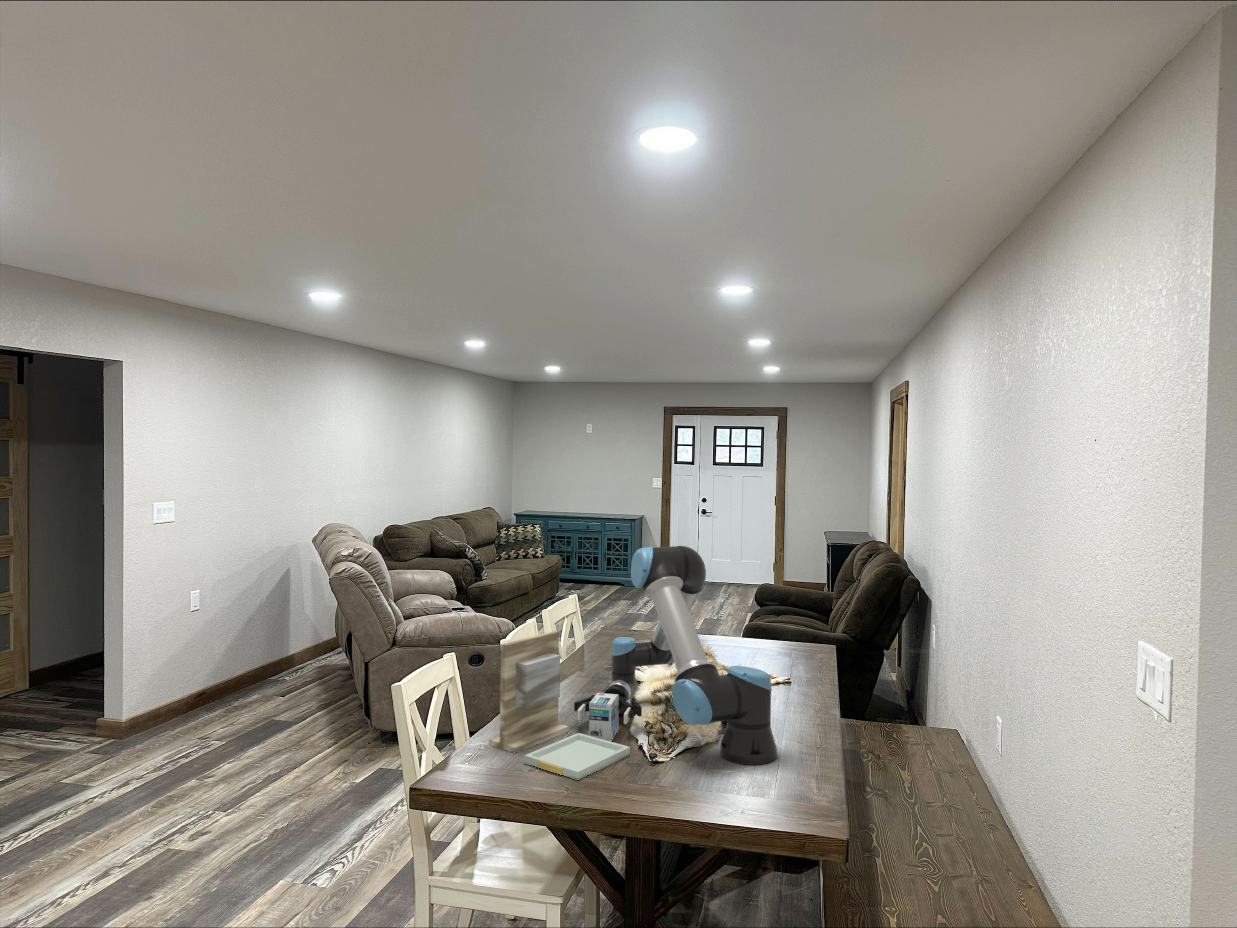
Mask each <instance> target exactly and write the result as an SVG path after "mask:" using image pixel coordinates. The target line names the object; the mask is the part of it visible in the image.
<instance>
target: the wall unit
mask: <svg viewBox="0 0 1237 928" xmlns="http://www.w3.org/2000/svg"><path fill="white" fill-rule="evenodd" d="M559 647H560V632H559V631H555V630H554V631H553V630H552V631H548V632H544V633H541V634H537V635H534V636H529V637H525V638H521V639H518V640H513V641H509V642H506V643H505V642H504V643H502V644H500V669H499V670H500V672H499V674H500V677H499V678H500V685H499V690H500V692H499V695H500V696H499V736H496V737H495V736H494V737H493V738H490V739H489V741H488V742H489V744H488V745H489V746H491V747H494V748H497V749H501V750H503V749H504V751H506V750H507V752H510V751H511V752H510V753H513V752H515V753H514V754H517V753H516V752H518V751H520V752H522V751H521V750H523V751H525V750H527V749H529V747H530V748H532V747H535V746H536V744H537V745H539V743H540V744H542V743H545V742H547V741H549V740H552V739H554V738H556V736H557V737H559V736H561V735H564V734H566V733H568V732H569V726H568V725H564V724H560V723H559V698H560V695H561V655H560V648H559ZM565 732H566V733H565ZM563 733H564V734H563ZM558 735H559V736H558ZM551 738H552V739H551ZM534 745H535V746H534ZM531 746H532V747H531ZM526 748H527V749H526ZM524 749H525V750H524ZM518 753H519V752H518Z"/></svg>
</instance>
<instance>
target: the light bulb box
mask: <svg viewBox="0 0 1237 928" xmlns="http://www.w3.org/2000/svg"><path fill="white" fill-rule="evenodd" d="M594 695H595V697H594V698H593V699H592V700H591V702H590V703H589V711H588V712H589V715H588V716H589V717H588V718H589V719H588V720H589V721H588V722H589V723H588V728H589V729H588V732H589V733H588V736H592V737H595V738H599V739H603V740H606V741H610V742H612V741H614V739H615V737H616V735H617V734H618V732H619V731H620V730H619V729H620V728H619V721H620V720H619V718H620V716H619V712H620V711H619V695H618V694H606V693H604V692H597V693H596V694H594ZM618 730H619V731H618ZM616 733H617V734H616Z"/></svg>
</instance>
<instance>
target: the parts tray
mask: <svg viewBox="0 0 1237 928" xmlns="http://www.w3.org/2000/svg"><path fill="white" fill-rule="evenodd" d="M630 756H631V746H628V745H625V744H621V743H617V742H614V741H613V742H612V741H611V742H610V741H606V740H603V739H599V738H595V737H592V736H589V734H588V735H587V734H584V733H580V732H577V733H575V734H572V735H570V736H568V737H566V738H563V739H560V740H559V741H556V742H553V743H550V744H549V745H545V746H544V747H541V748H539V749H536V750H534V751H532V752H530V753H527V754H524V762H523V764H524V763H525V764H524V765H526V764H528V765H527V766H530V765H532V766H531V767H533V766H535V767H534V768H536V767H538V768H537V769H539V768H541V769H540V770H542V769H544V770H543V771H545V770H548V771H550V772H549V773H551V772H554V773H553V774H555V773H557V774H556V775H558V774H560V775H559V776H561V775H564V776H567V777H570V778H573V779H575V780H574V781H577V780H579V781H581V780H582V779H581V778H583V777H585V778H586V776H587V775H589V776H590V774H591V775H593V774H595V773H597V772H599V771H601V770H603V769H605V768H607V767H609V766H611V765H613V764H615V763H617V762H618V761H619V762H620V761H621V760H623V759H625V758H627V757H630ZM548 771H547V772H548ZM596 771H597V772H596ZM594 772H595V773H594ZM592 773H593V774H592ZM564 776H563V777H564ZM567 777H566V778H567ZM587 777H588V776H587ZM570 778H569V779H570ZM573 779H572V780H573ZM580 779H581V780H580ZM583 779H584V778H583Z"/></svg>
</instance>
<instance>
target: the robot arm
mask: <svg viewBox="0 0 1237 928" xmlns="http://www.w3.org/2000/svg"><path fill="white" fill-rule="evenodd" d="M630 564H631V566H630V578H631V582H632V586H634V587H635V588H636V589H643V592H644V595H645V598H646V599H648V600H652V602H653V605H654V609H655V611H656V615H657V616H658V619H659V620H658V622H657V624H656V628H655V629H654V632H653V635H652V638H651V639H650V641H646V642H645V641H643V642H636V639H635V638H633V637H629V636H619V637H616V638H614V639H613V640H612V645H611V682H610V685H608V687H607V688H606V690H604V692H603V693H606V694H618V695H619V712H624V713H623V724H624V725H627V724H628V722H629V721H630V719H634V717H636V716H637V717H642V714H643V712H642V711H643V709H642V706H641V705H640V703H639V702H638V701H637V700H636V697H632V696H633V695H634V694H635V692H636V690H637V687H638V682H637V678H636V668H639V667H646V666H647V667H648V666H649V667H650V666H658V665H660V666H661V665H667V664H671V663H674V665H675V667H676V671H677V674H676V676H675V678H674V681H675V682H674V684H673V685H672V690H671V695H672V696H673V697H672V702H673V707H674V709H675V711H676V713H677V715H678V717H679V718H680V719H681V721H684V722H685V723H687V724H689V725H690V726H691V725H692V726H693V725H703V726H704V725H708V724H711V723H717V722H718V723H719V722H724V721H726V727H725V729H724V733H723V736H722V738H721V741H720V745H719V746H720V750H719V753H720V756H721V757H722V758H723V759H725V760H728V761H730V762H732V763H737V764H741V765H750V766H752V765H753V766H754V765H766V764H769V763H773V762H775V761H776V760H777V758H778V747H777V744H776V741H775V737H774V735H773V731H772V727H771V726H772V725H771V720H772V717H771V716H772V713H771V712H772V709H771V708H772V703H771V702H772V681H771V679H772V678H771V676H770V674H769V673H767V672H766V671H764V670H762V669H759V668H755V667H751V666H744V665H741V666H740V665H731V666H728V668H727V670H726V673H727V674H719V671H718V669H717V666H716V664H714V663H712V662H709V661H708V658H707V656H706V654H705V651H704V648H703V646H702V642H701V639H700V637H699V635H698V632H697V630H696V626H695V625H694V622H693V619H692V617H691V614H690V609H691V608H692V607H691V606H692V604H693V602H694V600H695V598H696V596H697V595H698V594H700V593H701V592H702V590H703V587H704V585H705V582H706V577H707V576H706V575H707V569H706V565H705V562H704V559H703V558H702V557H701V555H700V554H699V553H698V552H697V551H696V550H695V549H693V548H691V547H688V546H686V545H675V546H658V547H655V546H654V547H653V546H648V547H641V548H639V549H637V550H636V551H635V552H634V554H633V556H632V559H631V563H630ZM595 695H596V694H592V695H590V696H588V697H586V698H583V699H580V700H577V701H574V704H573V705H574V708H573V709H574V710H573V712H576V715H577V717H576V719H577V720H576V721H581V720H582V719H583V717H584V716H585V714H586V713H587V712H589V703H590V702H591V700H592V699H593V698H594V697H595Z"/></svg>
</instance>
